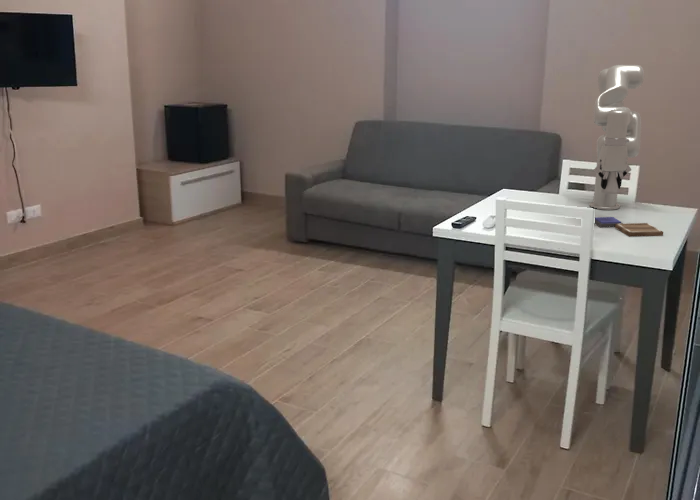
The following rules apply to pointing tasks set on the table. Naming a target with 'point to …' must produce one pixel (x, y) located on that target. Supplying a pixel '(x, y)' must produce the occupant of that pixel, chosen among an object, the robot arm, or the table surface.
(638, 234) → the marked board
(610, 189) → the flask
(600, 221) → the ink pad
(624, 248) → the table surface
